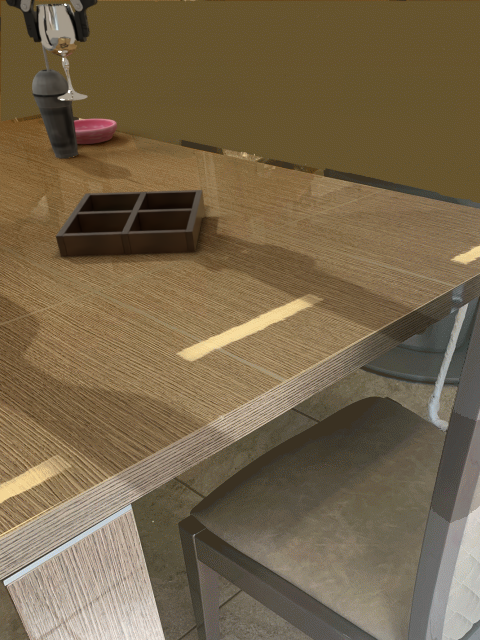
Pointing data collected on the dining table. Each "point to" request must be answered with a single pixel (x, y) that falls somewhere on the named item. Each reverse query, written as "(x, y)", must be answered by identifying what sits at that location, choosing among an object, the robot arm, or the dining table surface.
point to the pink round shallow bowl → (94, 130)
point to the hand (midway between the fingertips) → (61, 41)
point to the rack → (133, 223)
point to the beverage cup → (55, 110)
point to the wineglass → (59, 37)
